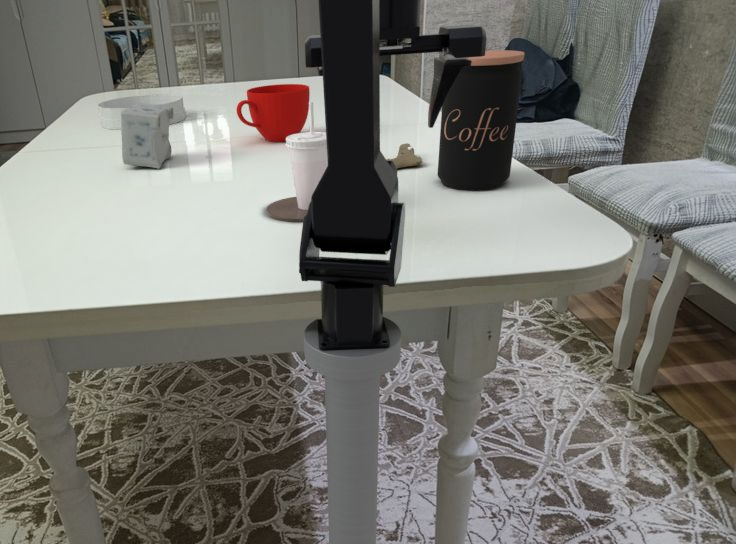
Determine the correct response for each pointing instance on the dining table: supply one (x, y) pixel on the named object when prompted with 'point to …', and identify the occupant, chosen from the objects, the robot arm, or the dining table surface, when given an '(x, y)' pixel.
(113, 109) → the dish
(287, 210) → the coaster
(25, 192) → the dining table surface
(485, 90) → the coffee jar
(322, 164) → the smoothie
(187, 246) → the dining table surface
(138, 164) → the incense holder
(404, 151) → the jawbone
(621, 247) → the dining table surface
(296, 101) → the ceramic cup
